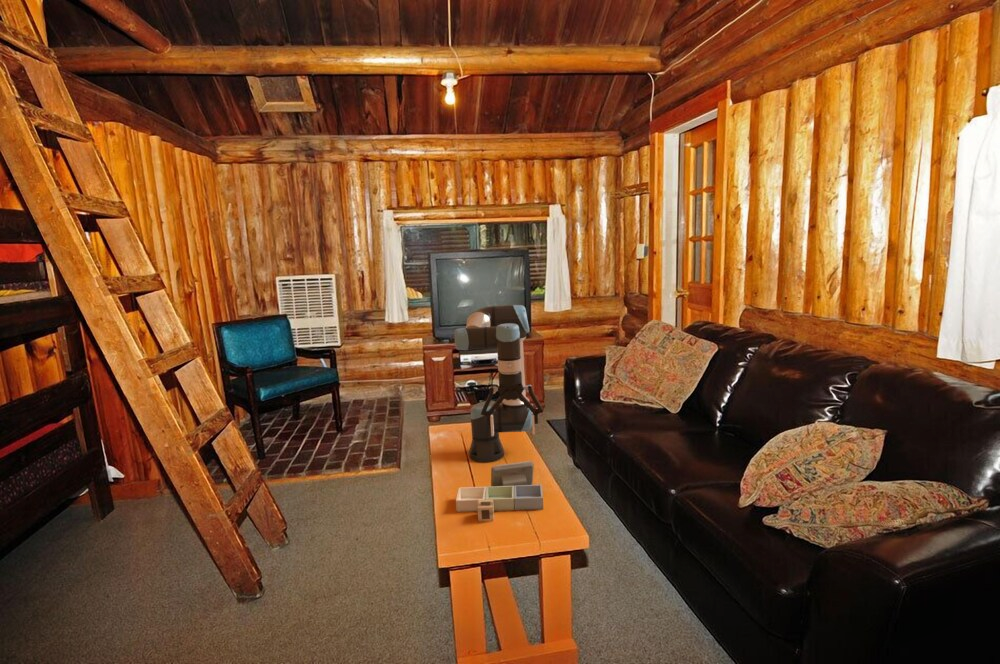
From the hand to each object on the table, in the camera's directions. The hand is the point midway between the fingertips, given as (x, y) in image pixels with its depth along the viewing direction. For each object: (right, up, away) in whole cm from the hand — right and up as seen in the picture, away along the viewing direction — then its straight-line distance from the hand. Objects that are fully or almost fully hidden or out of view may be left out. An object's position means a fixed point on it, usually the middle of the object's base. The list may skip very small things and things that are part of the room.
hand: (513, 434), depth 175 cm
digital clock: (+1, -25, +22) cm, 33 cm away
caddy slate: (+6, -26, +11) cm, 29 cm away
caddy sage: (-4, -27, +11) cm, 29 cm away
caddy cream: (-14, -27, +11) cm, 33 cm away
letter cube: (-9, -28, +2) cm, 30 cm away
